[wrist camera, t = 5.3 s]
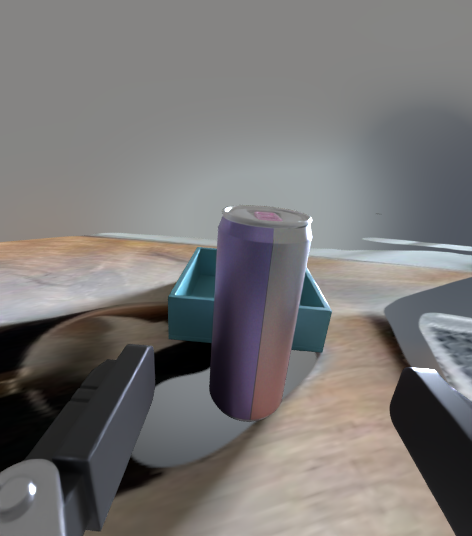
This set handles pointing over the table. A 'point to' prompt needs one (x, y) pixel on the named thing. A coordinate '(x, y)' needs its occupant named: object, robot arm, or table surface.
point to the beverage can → (256, 306)
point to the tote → (202, 306)
